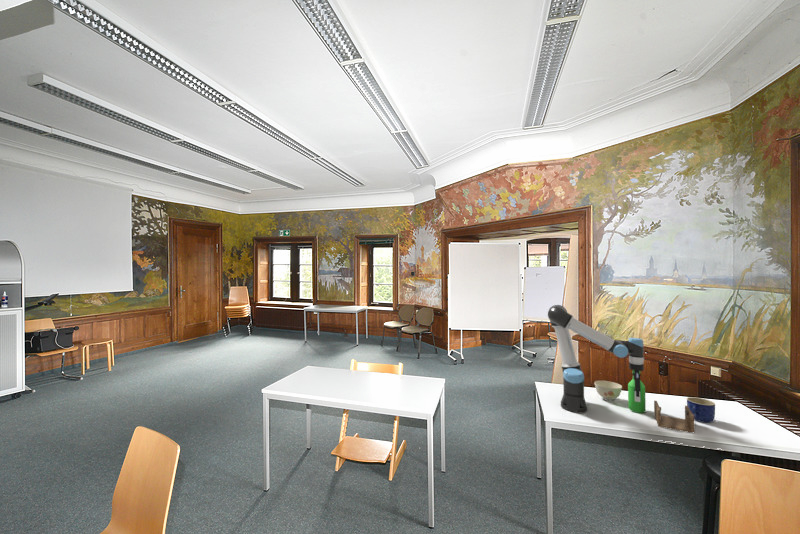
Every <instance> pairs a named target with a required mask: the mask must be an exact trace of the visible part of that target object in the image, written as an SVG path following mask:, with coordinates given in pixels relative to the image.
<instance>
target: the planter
mask: <svg viewBox="0 0 800 534" xmlns="http://www.w3.org/2000/svg"><path fill="white" fill-rule="evenodd" d="M686 406H688V407H689V409H690V410H691V412H692V413H693V415H694V421H695V422H696V421H697V422H700V423H709V424H710V423H712V422H714V421H715V417H716V403H715V402H714V401H712V400H709V399H706V398H703V397H696V396H695V397H693V396H691V397H689V396H688V397H687V398H686Z"/></svg>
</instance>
